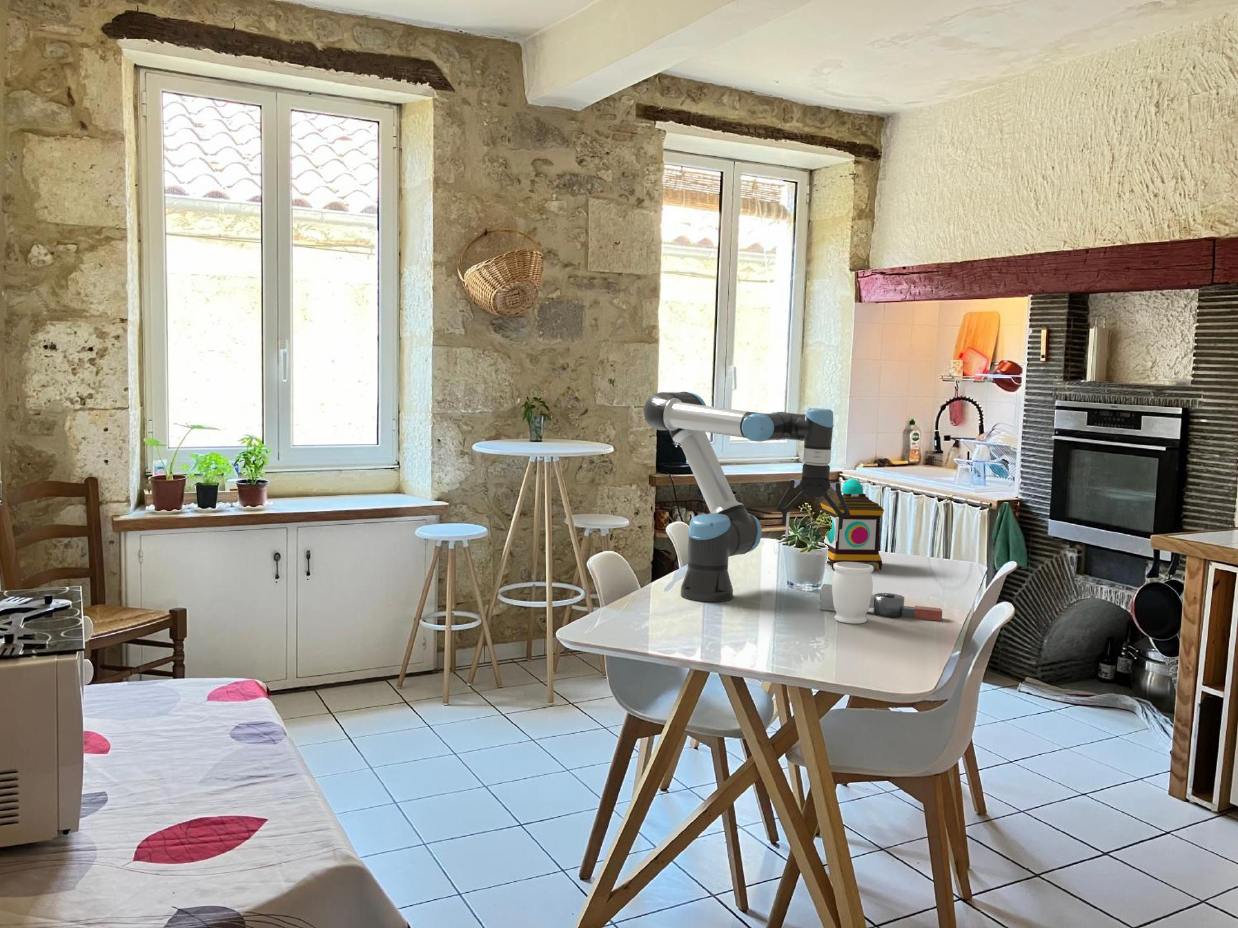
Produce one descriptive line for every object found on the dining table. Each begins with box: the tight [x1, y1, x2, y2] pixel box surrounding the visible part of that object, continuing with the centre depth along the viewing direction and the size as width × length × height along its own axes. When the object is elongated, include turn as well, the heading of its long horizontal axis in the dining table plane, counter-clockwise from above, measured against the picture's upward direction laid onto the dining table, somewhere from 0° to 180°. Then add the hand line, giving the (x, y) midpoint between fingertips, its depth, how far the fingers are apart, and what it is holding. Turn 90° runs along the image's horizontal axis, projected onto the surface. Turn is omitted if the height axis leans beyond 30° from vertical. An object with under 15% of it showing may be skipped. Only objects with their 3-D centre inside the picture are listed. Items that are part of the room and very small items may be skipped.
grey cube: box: [819, 583, 836, 612], centre depth 276 cm, size 6×6×6 cm
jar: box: [831, 562, 874, 625], centre depth 263 cm, size 11×10×15 cm
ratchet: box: [869, 592, 943, 622], centre depth 270 cm, size 22×8×6 cm, turn 73°
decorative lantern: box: [820, 478, 885, 571], centre depth 337 cm, size 20×20×30 cm
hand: (811, 538), depth 278 cm, fingers open, 13 cm apart
